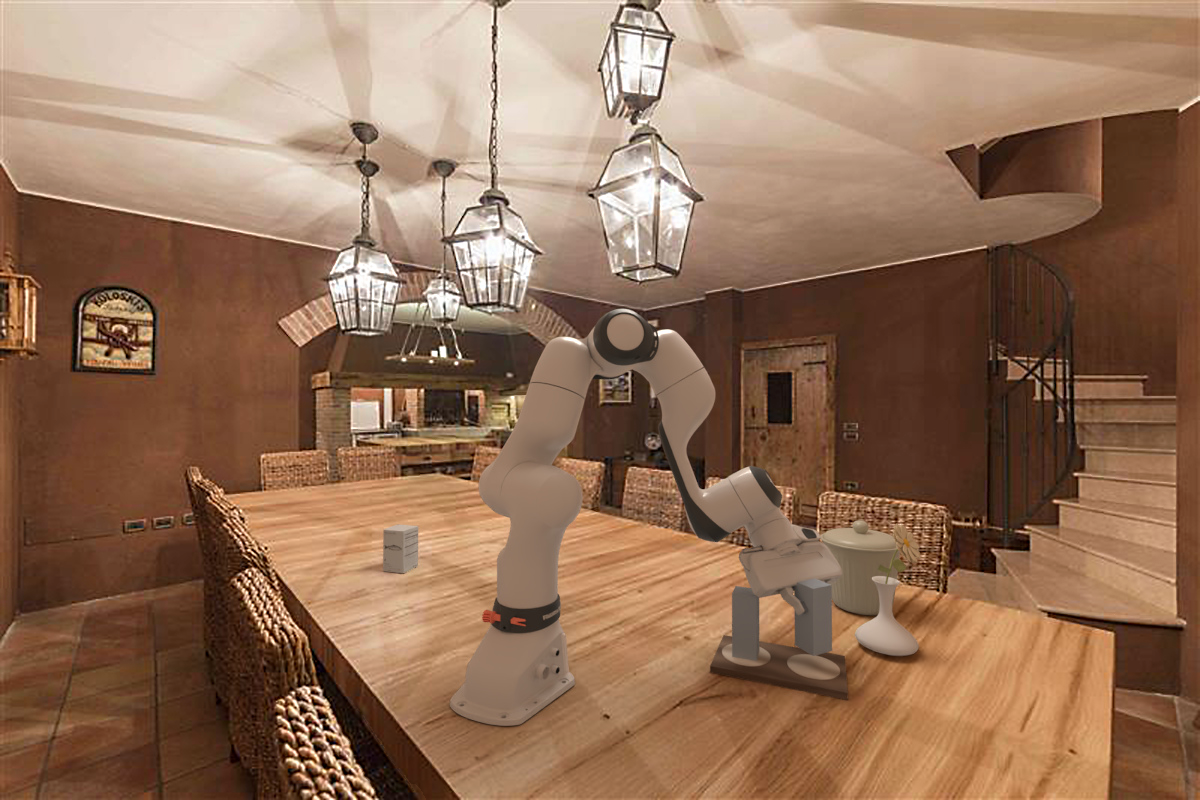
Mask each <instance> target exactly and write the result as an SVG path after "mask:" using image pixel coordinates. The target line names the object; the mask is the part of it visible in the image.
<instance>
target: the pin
mask: <svg viewBox="0 0 1200 800" xmlns="http://www.w3.org/2000/svg"><path fill="white" fill-rule="evenodd" d="M731 636H732V657H736V658H742V659H747V660H753V661H757V658H758V654H759V641H760V598H759V597H757V596H756V595H755V594H754V593H753V592H752V590H751V587H745V586H739V585H735V587H734V589H733V590H732V593H731Z"/></svg>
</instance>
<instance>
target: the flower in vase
mask: <svg viewBox="0 0 1200 800" xmlns="http://www.w3.org/2000/svg"><path fill="white" fill-rule="evenodd" d="M891 536H893V538H894V542H895V544H897V546H896V547H897V549H896V551H895V553H894V555H893V557H892V561H891V564H890V567H889V569H888V568H886V567H884V566H882V565H881V564H880V566H879V568H878V570H879V571H882V572H886V573H887V577H885V576H875V577H872V580H873V581H874V583H875V584H876V586H877V589H878V593H879V599H880V610H879V614H878V615H876V616H875V617H874V618H872V619H871V620H868V621H866V622H865V623H863V624H861V625H860V626H858V627H857V628H856V630H855V633H854V636H855V639H856V641H857V642H858V643H859V644H860V645H862V646H863V647H865V648H867V649H868V650H871V651H873V652H876V653H878V654H882V655H885V656H887V655H888V656H893V657H903V656H910V655H913V654H916V652H917V651H919V649H920V644H919V643H918V640H917V639H916V638H915V636H914V635H913V634H912V633H911V632H910V631H909V630H908V629H906V628H905V627H904V626H903V625H901V624H900V622H898V621H897V620H896V618H895V616H894V614H893V606H892V600H893V594H894V591H895V592H896V590H895V589H897V587H898V586H899V585H900V584H901V581H900V580H898V578H897V579H894V578H891V577H889V573H890V572H891V571H892V570H891V567H892V565H893V567H894V568H895V569H896V570H897V571H898V573H903V572H905V571H906V569H907V566H906V563H905V562H903V560H901V559H900V558H899V559H895V560H894V558H895V555H896V553H897V551H900V556H902V557H903V559H904V560H908V561H909V563H910V562H912V563H914V564H915V563H918V559H921V552H920V551H919V549H920V547H921V546H920V545H919V544H918V543H917V540H916V539H915V538H914V534H913V532H911V531H910V532H909V531H908V529H907V528H906V526H905V525H904V524H900V525H899V524H898V523H896V524H895V525H894V526H893V529H892V535H891ZM893 561H894V562H893Z"/></svg>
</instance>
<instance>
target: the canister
mask: <svg viewBox="0 0 1200 800" xmlns="http://www.w3.org/2000/svg"><path fill="white" fill-rule="evenodd" d="M869 527H870V525H869V523H868V522H866V521H865V520H860V519H858V520H855V521H853V522H852V527H838V528H833V529H829V530H827V531H826V532H823V533H821V535H820V537H821V538H820V540H821V542H822V543H824V544H825V545H826V546H827V547H828V548H829V550H830V551H831V552H832V554H833V555H834V557H835V558H836V560H837V561H838V563H839V565H840V566H841V568H842V576H841V577H840V578H839V579H838V580H837V581H835V582H834V583H831V584H830V585H832V603H834V604H835V606H837V607H838V608H840V609H841V610H844V611H847V612H849V613H851V614H852V613H853V614H857V615H861V616H862V615H863V616H878V614H879V610H880V599H879V593H878V589H877V586H876V584H875V583H874V581H873V580H872V577H875V576H885V577H887V573H886V572H882V571H879V570H878V568H879V566H880V564H881V565H882V566H884V567H886V568H888V569H889V567H890V564H891V561H892V557H893V555H894V553H895V551H896V549H897V547H896V546H897V544H895V542H894V538H893V535H891V534H888V533H886V532H882V531H878V530H873V529H870V528H869ZM900 557H901V553H900V551H897V553H896V555H895V558H894V560H895V559H899V560H900ZM893 562H894V561H893ZM891 570H892V571H891V572H890V573H889V577H891V578H894V579H897V580H898V573H899V572H898V571H897V570H896V569H895V568H894V567H893V565H892V567H891ZM896 589H897V588H896ZM896 589H895V591H894V594H893V600H892V607H893V605H894V601H895V597H896V596H895V595H896Z"/></svg>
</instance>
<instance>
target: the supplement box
mask: <svg viewBox="0 0 1200 800" xmlns="http://www.w3.org/2000/svg"><path fill="white" fill-rule="evenodd" d="M382 540H383V542H382V543H383V545H382V551H383V555H382V557H383V558H382V566H383V567H382V571H383V572H389V573H397V574H402V573H404V574H405V572H406V573H407V571H408V572H410V571H412V570H414V569H416V568H418V567H419V525H409V524H400V523H399V524H395V525H392V526H390V527H387V528H383V538H382ZM417 566H418V567H417ZM415 567H416V568H415ZM413 568H414V569H413ZM411 569H412V570H411ZM409 570H410V571H409Z"/></svg>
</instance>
